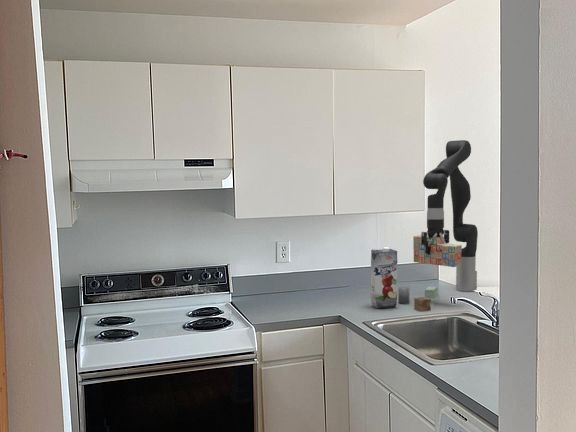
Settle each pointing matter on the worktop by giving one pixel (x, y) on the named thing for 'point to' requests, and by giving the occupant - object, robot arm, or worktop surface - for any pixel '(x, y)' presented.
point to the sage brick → (431, 292)
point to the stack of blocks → (437, 252)
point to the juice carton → (384, 278)
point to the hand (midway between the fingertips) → (435, 253)
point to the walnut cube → (422, 304)
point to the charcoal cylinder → (403, 295)
